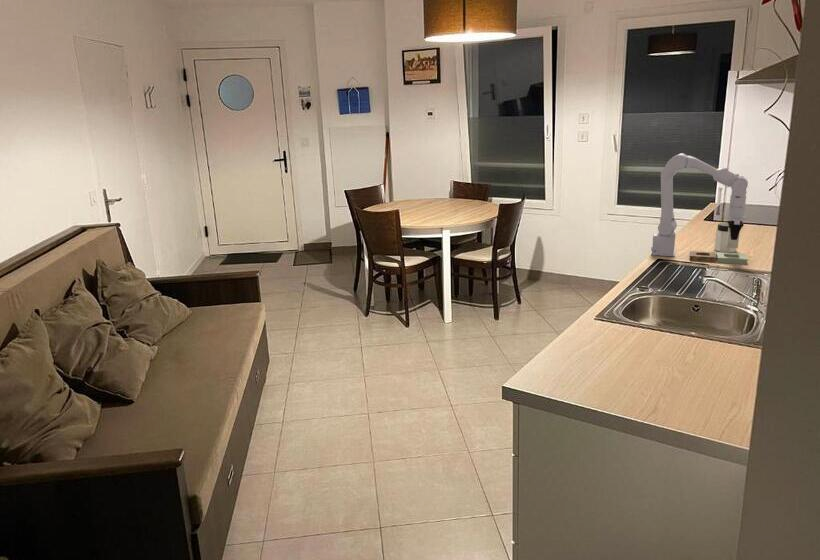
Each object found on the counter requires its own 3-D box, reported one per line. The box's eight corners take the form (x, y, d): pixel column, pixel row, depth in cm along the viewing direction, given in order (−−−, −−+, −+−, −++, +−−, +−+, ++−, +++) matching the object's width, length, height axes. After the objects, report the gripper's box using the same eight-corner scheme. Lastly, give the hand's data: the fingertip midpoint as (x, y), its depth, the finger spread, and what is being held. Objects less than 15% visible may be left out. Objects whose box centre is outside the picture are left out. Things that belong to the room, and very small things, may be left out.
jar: (739, 252, 272) (742, 226, 269) (721, 253, 272) (724, 226, 269) (728, 248, 281) (731, 222, 278) (711, 248, 281) (714, 223, 278)
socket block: (689, 260, 261) (690, 255, 260) (689, 255, 270) (689, 250, 269) (715, 262, 257) (716, 257, 257) (714, 256, 266) (715, 252, 265)
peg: (727, 247, 257) (729, 228, 255) (726, 245, 260) (728, 227, 258) (737, 248, 255) (739, 229, 253) (736, 246, 259) (739, 227, 257)
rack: (717, 262, 256) (717, 257, 256) (715, 256, 266) (716, 252, 266) (746, 264, 252) (747, 259, 252) (744, 258, 262) (744, 253, 262)
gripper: (749, 209, 245) (745, 242, 249) (746, 204, 258) (742, 235, 262) (730, 208, 248) (726, 241, 252) (727, 203, 261) (724, 235, 264)
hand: (733, 238), depth 257 cm, fingers closed on peg, 4 cm apart
